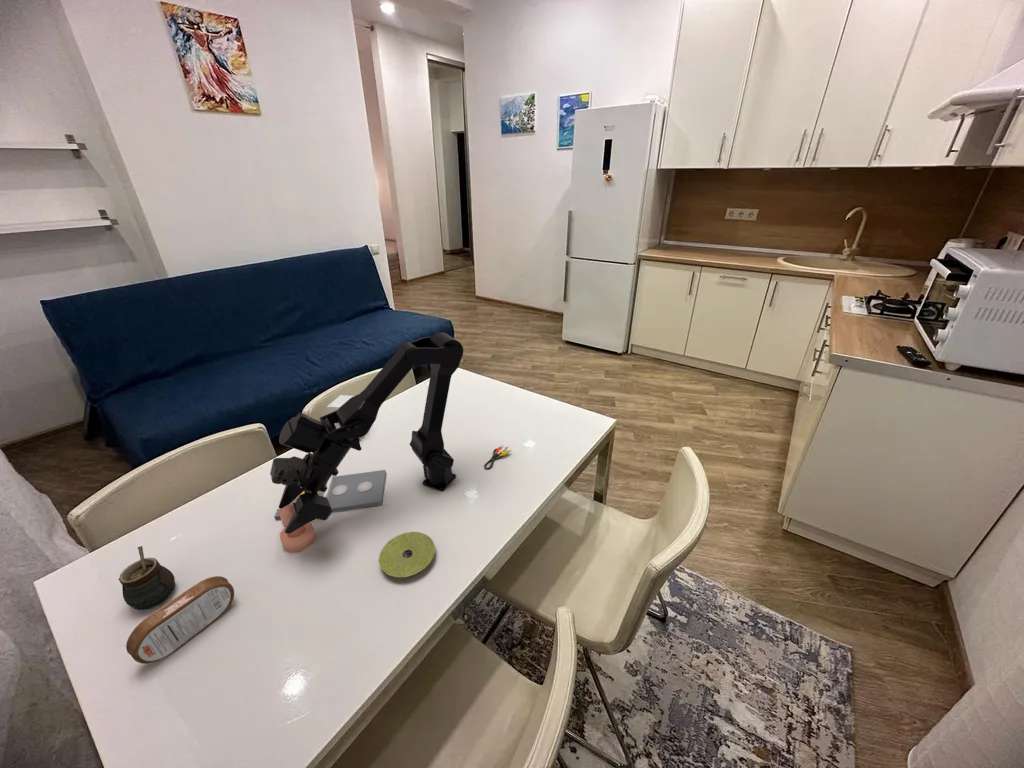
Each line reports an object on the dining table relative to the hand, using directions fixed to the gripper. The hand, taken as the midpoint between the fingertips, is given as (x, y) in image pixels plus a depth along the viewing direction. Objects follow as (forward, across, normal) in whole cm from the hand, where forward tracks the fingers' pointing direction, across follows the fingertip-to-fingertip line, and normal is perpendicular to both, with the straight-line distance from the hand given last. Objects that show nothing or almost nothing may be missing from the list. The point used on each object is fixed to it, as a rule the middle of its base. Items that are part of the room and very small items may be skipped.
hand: (283, 520), depth 85 cm
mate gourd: (+22, -2, -12) cm, 25 cm away
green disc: (-8, +19, +19) cm, 28 cm away
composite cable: (-31, +1, +42) cm, 52 cm away
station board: (-3, -10, +13) cm, 17 cm away
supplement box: (-10, -34, +21) cm, 41 cm away
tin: (+18, +11, -7) cm, 22 cm away
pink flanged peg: (+4, 0, +6) cm, 7 cm away
